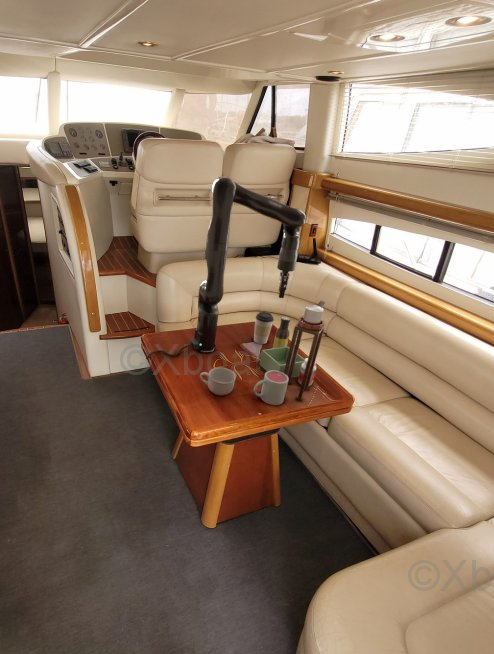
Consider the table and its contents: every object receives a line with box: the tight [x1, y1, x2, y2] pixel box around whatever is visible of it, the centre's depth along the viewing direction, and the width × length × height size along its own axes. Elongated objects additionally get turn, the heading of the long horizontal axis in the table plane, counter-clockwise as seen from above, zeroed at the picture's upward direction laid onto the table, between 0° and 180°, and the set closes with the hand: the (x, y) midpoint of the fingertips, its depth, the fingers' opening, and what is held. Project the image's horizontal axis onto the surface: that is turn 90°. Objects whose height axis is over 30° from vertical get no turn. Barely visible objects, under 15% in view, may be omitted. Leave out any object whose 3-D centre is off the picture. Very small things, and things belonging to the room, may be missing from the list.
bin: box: [258, 345, 306, 379], centre depth 172 cm, size 14×14×8 cm
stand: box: [284, 315, 327, 401], centre depth 152 cm, size 10×9×32 cm
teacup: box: [199, 366, 237, 396], centre depth 153 cm, size 14×11×8 cm
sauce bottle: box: [272, 316, 291, 349], centre depth 180 cm, size 6×6×20 cm
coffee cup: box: [253, 311, 275, 345], centre depth 195 cm, size 9×9×15 cm
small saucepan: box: [303, 300, 326, 325], centre depth 147 cm, size 17×6×6 cm, turn 150°
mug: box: [253, 371, 289, 406], centre depth 151 cm, size 14×9×10 cm
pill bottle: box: [297, 357, 317, 387], centre depth 163 cm, size 6×6×11 cm
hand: (281, 294), depth 173 cm, fingers open, 8 cm apart
